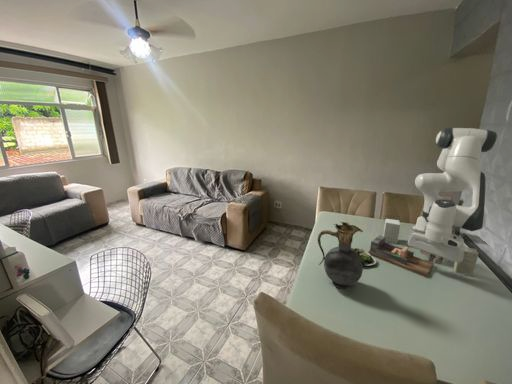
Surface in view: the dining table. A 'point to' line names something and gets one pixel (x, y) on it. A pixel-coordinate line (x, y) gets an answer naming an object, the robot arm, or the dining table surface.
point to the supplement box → (391, 230)
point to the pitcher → (342, 257)
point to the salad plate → (365, 258)
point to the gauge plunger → (400, 252)
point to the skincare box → (467, 262)
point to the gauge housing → (399, 257)
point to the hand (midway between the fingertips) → (431, 261)
